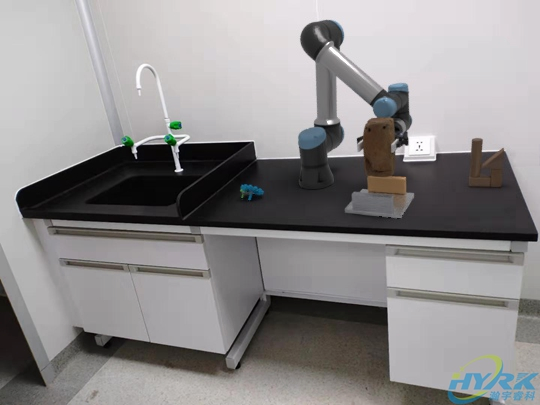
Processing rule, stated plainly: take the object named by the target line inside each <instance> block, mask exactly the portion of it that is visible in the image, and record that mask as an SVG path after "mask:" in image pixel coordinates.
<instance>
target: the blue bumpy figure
mask: <svg viewBox="0 0 540 405" xmlns="http://www.w3.org/2000/svg"><path fill="white" fill-rule="evenodd" d="M239 191H240V193H241V196H240V197H241V198H243V199H244V197H245V196H246V195H249V196H248V199H247V201H248V200H252V196H254V195H253V194H255V195H257V196H261V195H262V196H263V195H264V192H265V191H264V190H263V189H262V188H258V186H255V185H254V186H253V184H249V185H248V184H246V183H245V184H241V186H240V190H239ZM241 198H240V199H241Z"/></svg>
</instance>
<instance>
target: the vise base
mask: <svg viewBox="0 0 540 405" xmlns="http://www.w3.org/2000/svg"><path fill="white" fill-rule="evenodd" d="M414 198H415V193H414V192H406V193H405V194H397V193H385V192H373V191H368V188H367V189H366V188H362V189H361V190H360V191H353V192H352V193H351V201H350V202H348V203H349V204H347V205H346V206H345V208H344V213H345V214H352V215H353V214H354V215H363V216H371V217H379V216H382V218H388V217H391V218H390V219H397V218H401V219H402V217H403V216H404V214H405V213H406V211H407V209H408V207H409V206H410V204H411V202H412V201H413V200H414ZM404 212H405V213H404ZM402 215H403V216H402Z"/></svg>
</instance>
